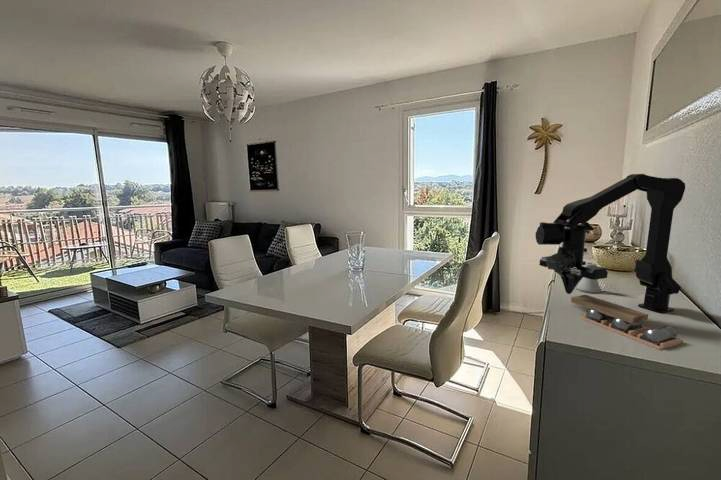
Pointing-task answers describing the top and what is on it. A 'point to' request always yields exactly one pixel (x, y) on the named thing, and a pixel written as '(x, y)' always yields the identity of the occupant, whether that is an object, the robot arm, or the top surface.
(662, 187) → the robot arm
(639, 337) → the roller track
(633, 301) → the top surface
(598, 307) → the walnut board
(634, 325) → the middle roller
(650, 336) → the roller
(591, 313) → the rear roller
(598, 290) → the flask
